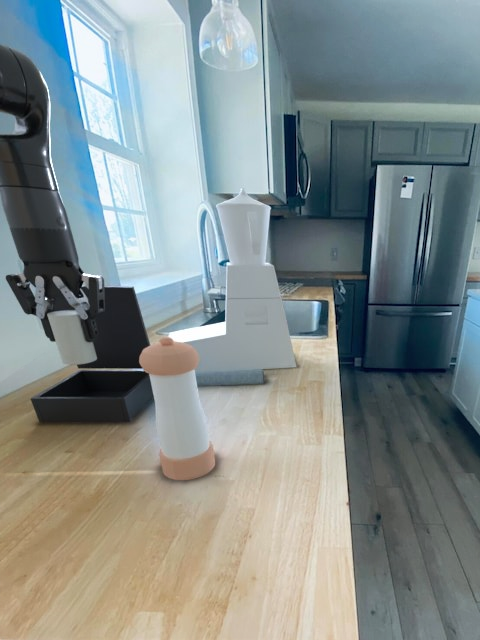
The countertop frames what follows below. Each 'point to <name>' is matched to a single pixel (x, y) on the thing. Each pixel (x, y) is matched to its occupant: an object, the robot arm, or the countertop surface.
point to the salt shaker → (178, 409)
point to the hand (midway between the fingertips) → (74, 340)
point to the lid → (116, 329)
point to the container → (71, 338)
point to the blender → (245, 299)
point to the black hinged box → (95, 397)
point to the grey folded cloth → (230, 377)
